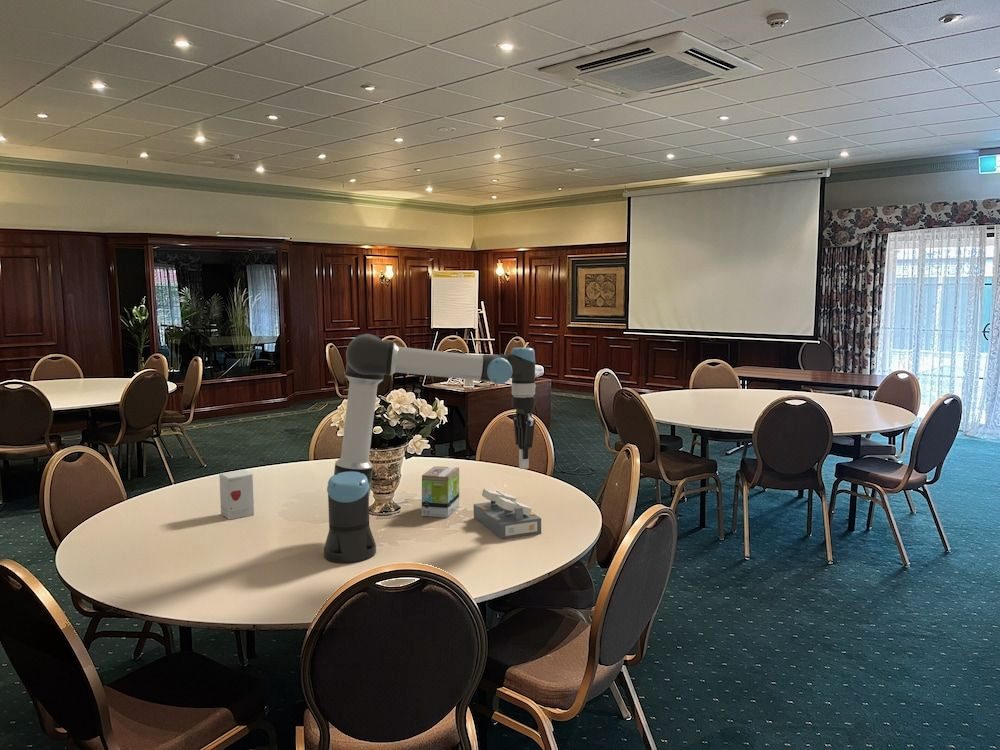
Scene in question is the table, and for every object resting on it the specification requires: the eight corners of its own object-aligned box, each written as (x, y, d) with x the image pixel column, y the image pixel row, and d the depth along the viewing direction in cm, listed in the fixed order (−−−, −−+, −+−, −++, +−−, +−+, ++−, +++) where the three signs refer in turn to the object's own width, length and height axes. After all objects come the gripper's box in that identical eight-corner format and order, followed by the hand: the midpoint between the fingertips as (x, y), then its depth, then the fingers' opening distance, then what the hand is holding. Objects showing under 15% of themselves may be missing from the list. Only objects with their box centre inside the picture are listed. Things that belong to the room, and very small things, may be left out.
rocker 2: (502, 508, 219) (505, 500, 219) (495, 503, 225) (497, 496, 225) (529, 515, 223) (531, 508, 223) (521, 511, 228) (524, 503, 229)
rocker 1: (488, 499, 230) (490, 492, 230) (481, 495, 236) (483, 488, 236) (514, 505, 234) (516, 498, 234) (507, 500, 240) (509, 493, 240)
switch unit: (501, 539, 216) (501, 512, 215) (473, 518, 238) (473, 493, 238) (541, 533, 222) (541, 506, 221) (511, 513, 244) (510, 488, 243)
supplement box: (228, 520, 239) (226, 477, 238) (220, 514, 246) (218, 473, 244) (255, 515, 245) (253, 473, 243) (246, 509, 252) (244, 469, 250)
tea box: (449, 518, 239) (448, 476, 238) (421, 516, 241) (420, 475, 240) (460, 505, 254) (459, 466, 252) (433, 504, 256) (433, 465, 254)
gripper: (543, 397, 218) (543, 471, 220) (525, 392, 229) (526, 462, 232) (521, 398, 215) (521, 473, 217) (504, 394, 227) (505, 465, 229)
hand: (524, 468), depth 224 cm, fingers closed
